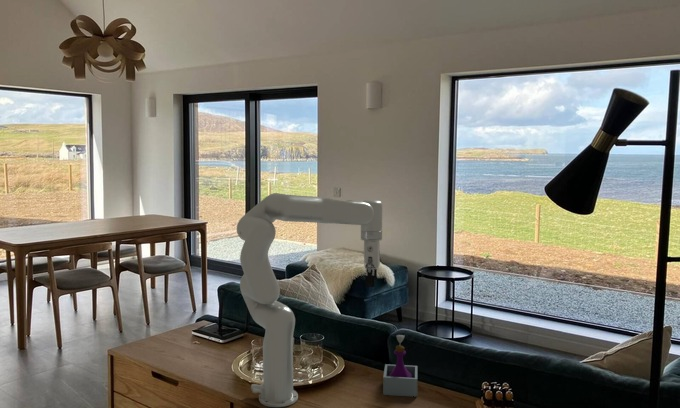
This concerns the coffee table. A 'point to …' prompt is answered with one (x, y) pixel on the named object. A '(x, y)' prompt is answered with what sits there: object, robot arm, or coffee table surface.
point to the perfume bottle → (400, 361)
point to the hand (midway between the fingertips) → (371, 283)
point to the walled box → (400, 382)
